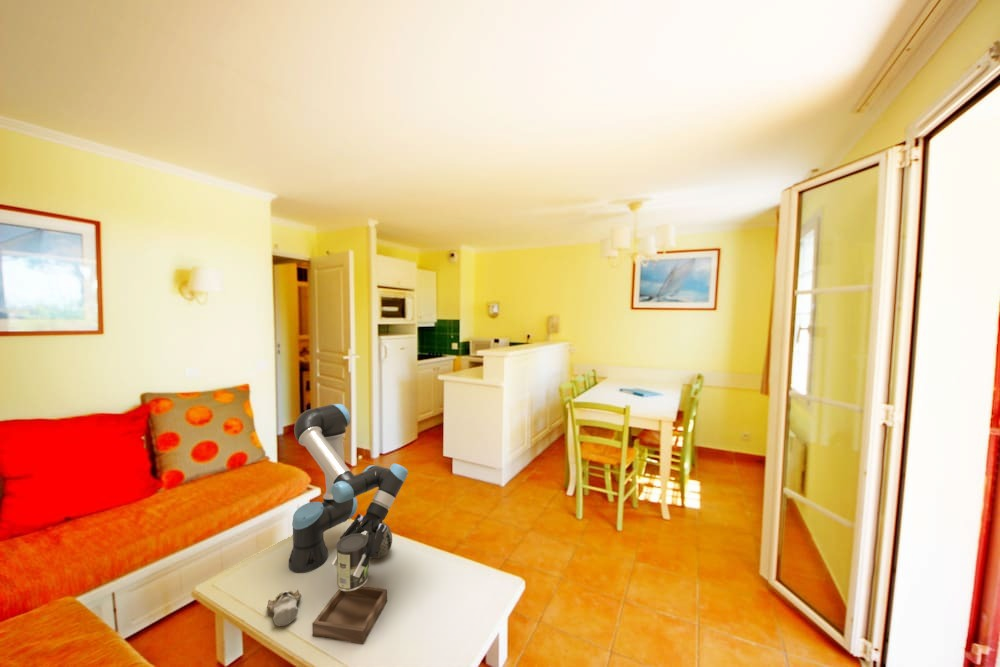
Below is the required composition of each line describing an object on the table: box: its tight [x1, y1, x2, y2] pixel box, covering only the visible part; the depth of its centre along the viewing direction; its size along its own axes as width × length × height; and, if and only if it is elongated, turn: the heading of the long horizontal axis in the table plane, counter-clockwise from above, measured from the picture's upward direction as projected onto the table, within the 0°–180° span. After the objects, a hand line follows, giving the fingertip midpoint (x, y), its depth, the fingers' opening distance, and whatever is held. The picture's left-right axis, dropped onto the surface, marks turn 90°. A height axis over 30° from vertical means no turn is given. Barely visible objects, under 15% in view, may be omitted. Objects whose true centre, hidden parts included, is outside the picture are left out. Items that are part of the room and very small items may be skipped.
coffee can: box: [335, 533, 369, 591], centre depth 128 cm, size 10×10×14 cm
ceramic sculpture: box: [266, 589, 302, 627], centre depth 130 cm, size 11×9×15 cm
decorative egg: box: [365, 521, 393, 559], centre depth 161 cm, size 12×12×15 cm
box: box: [311, 585, 389, 645], centre depth 129 cm, size 18×18×4 cm
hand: (345, 570), depth 125 cm, fingers closed on coffee can, 10 cm apart
